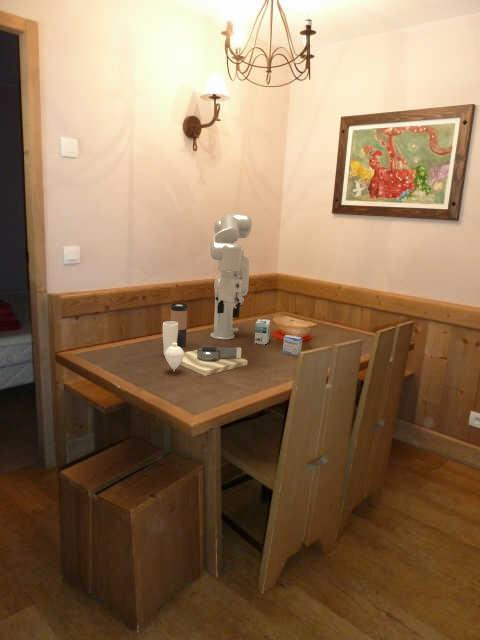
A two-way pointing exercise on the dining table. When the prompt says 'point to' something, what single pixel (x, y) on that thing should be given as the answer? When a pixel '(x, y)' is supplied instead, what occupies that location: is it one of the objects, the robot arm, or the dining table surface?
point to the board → (210, 364)
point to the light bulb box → (262, 331)
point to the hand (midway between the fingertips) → (227, 315)
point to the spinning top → (174, 356)
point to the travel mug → (180, 321)
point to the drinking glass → (169, 334)
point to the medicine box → (292, 344)
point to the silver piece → (217, 353)
